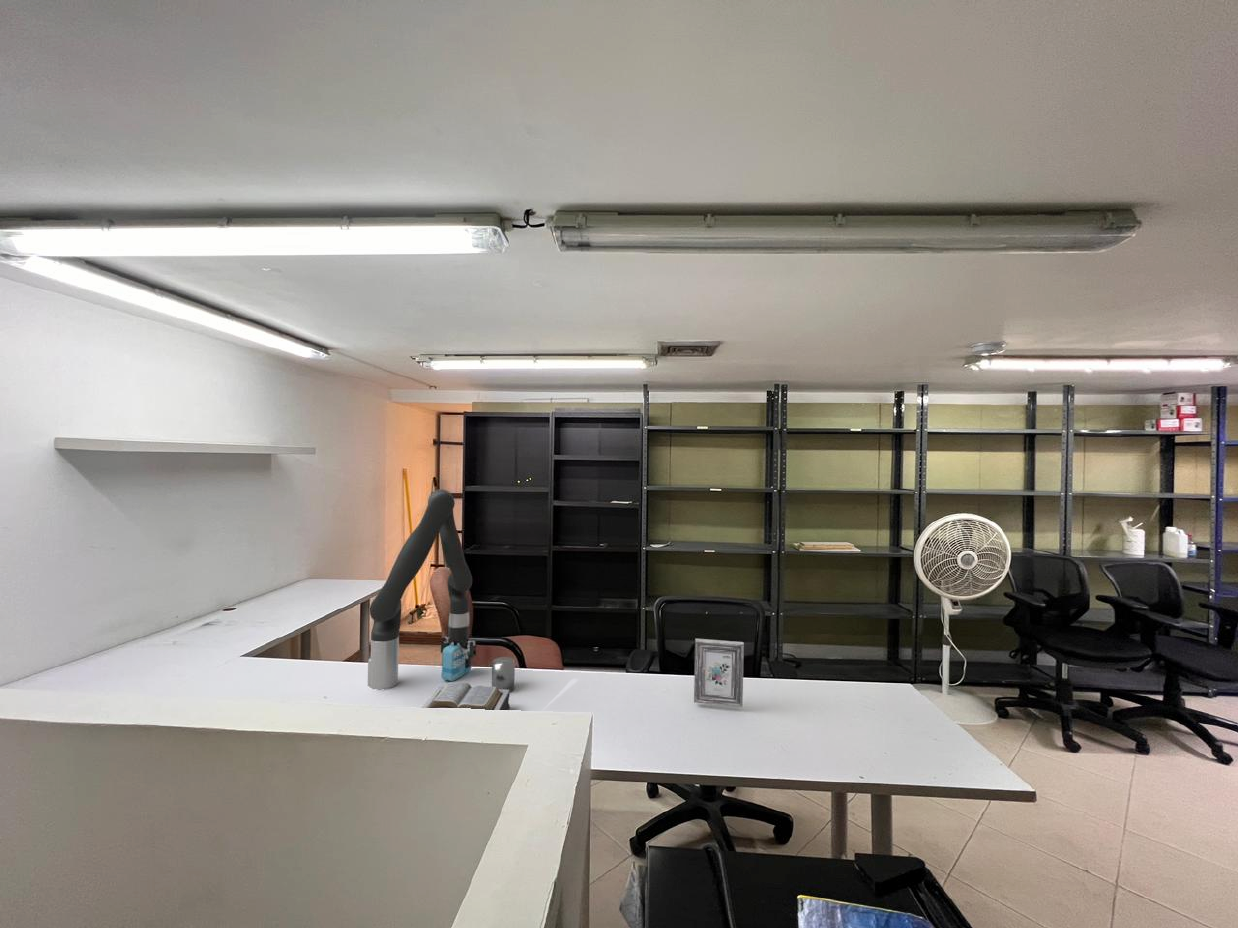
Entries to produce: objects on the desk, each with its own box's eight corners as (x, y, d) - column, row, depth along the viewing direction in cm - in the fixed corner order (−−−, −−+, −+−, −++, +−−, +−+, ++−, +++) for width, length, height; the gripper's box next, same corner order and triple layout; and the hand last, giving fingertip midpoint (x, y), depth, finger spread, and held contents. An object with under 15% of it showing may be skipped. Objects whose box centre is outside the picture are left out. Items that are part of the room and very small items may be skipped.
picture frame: (693, 702, 170) (695, 640, 170) (693, 699, 172) (695, 638, 172) (742, 707, 167) (744, 644, 167) (742, 704, 170) (743, 641, 170)
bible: (446, 699, 169) (447, 671, 169) (519, 709, 163) (520, 680, 163) (403, 735, 146) (404, 702, 146) (486, 748, 140) (487, 714, 140)
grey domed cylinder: (487, 691, 174) (487, 663, 174) (499, 682, 182) (499, 655, 182) (507, 695, 172) (507, 666, 172) (518, 685, 180) (518, 658, 180)
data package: (451, 682, 181) (452, 650, 181) (441, 680, 183) (442, 648, 183) (471, 670, 192) (472, 639, 192) (462, 668, 194) (462, 638, 194)
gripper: (437, 624, 186) (435, 667, 186) (469, 628, 182) (468, 672, 182) (449, 618, 193) (448, 659, 193) (480, 622, 189) (479, 664, 189)
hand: (458, 665), depth 187 cm, fingers open, 8 cm apart
